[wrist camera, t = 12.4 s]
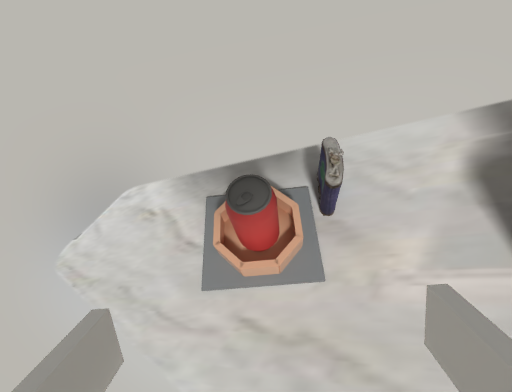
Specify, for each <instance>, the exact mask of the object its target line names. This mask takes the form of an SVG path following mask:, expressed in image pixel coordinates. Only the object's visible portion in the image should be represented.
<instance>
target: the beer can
mask: <svg viewBox="0 0 512 392" xmlns="http://www.w3.org/2000/svg"><path fill="white" fill-rule="evenodd" d="M225 208H226V211H227V215H228V217H229V219H230V221H231V223H232V226H233V228H234V230H235V232H236V234H237V237H238V239H239V241H240V242H241V244H242V245H243V246H244V247H246V248H247V249H248V250H252V251H264V250H267V249H269V248H270V247H272V246H273V245H274V244H275V243H276V241H277V240H278V237H279V234H280V231H279V218H278V207H277V197H276V195H275V193H274V190H273V189H272V188H271V187H270V184H269V183H268V182H267V181H266V180H265V179H264V178H262V177H260V176H257V175H244V176H241V177H239V178H237V179H235V180H234V181H233V182H232V183H231V184H230V185H229V187H228V189H227V191H226V202H225Z"/></svg>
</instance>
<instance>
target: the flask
mask: <svg viewBox="0 0 512 392" xmlns="http://www.w3.org/2000/svg"><path fill="white" fill-rule="evenodd" d="M343 153H344V152H343V151H342V149H341V150H340V147H339V144H338V142H337V140H336V139H335V138H332V137H328V138H325V139H323V141H322V147H321V155H320V162H319V168H318V173H317V176H318V178H317V180H318V181H319V186H318V190H319V191H318V192H319V194H320V212H321V213H322V214H323V215H324V216H325V215H326V216H330V215H332V214H333V213H334V210H335V205H336V201H337V197H338V194H339V190H340V187H341V184H342V180H343V170H344V169H343V167H344V166H343V158H342V155H343Z"/></svg>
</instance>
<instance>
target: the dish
mask: <svg viewBox="0 0 512 392" xmlns="http://www.w3.org/2000/svg"><path fill="white" fill-rule="evenodd" d="M270 187H271V188H272V189H273V190H274V193H275V195H276V197H277V207H278V218H279V231H280V234H279V237H278V240H277V241H276V243H275V244H274V245H273V246H272V247H270V248H269V249H267V250H264V251H252V250H248V249H247V248H246V247H244V246H243V245H242V244H241V242H240V241H239V239H238V237H237V234H236V232H235V230H234V228H233V226H232V223H231V221H230V219H229V217H228V215H227V211H226V208H225V202H226V201H225V202H224V203H223V204H222V205H221V206H220V207H219V208H218V209H217V210H216V211H215V213H214V233H213V245H214V247H215V249H216V250H217V252H218V253H219V254H220V255H221V256H222V257H223V258H224V259H225V260H226V261H227V262H228V263H229V264H231V265H232V266H233V267H234V268H235V269H236V270H237V271H238V272H239V273H240V274H241V275H243V276H244V277H246V276H258V275H270V274H279V272H280V273H281V272H282V271H283V270H284V268H285V267H286V266H287V265H288V264H289V262H290V261H291V260H292V259H293V257H294V256H295V255H296V254H297V253H298V251H299V250H300V249H301V248H302V244H303V231H302V224H301V218H300V212H299V205H298V204H297V203H296V202H294V201H293V200H291V199H290V198H288V197H287V196H286V195H284V194H283V193H281V192H280V191H278V190H277V189H275V188H274V187H272V186H270Z"/></svg>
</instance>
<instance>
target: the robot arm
mask: <svg viewBox="0 0 512 392" xmlns="http://www.w3.org/2000/svg"><path fill="white" fill-rule="evenodd" d="M424 344H425V345H426V347H427V348H428V349H429V351H430V352H431V353H432V355H433V356H434V358H435V359H436V360H437V362H438V363H439V364H440V366H441V367H442V369H443V370H444V371H445V373H446V374H447V375H448V377H449V378H450V380H451V381H452V382H453V384H454V385H455V386H456V388H457V389H458V390H459V392H512V339H511V338H510V337H509V336H507V335H506V334H505V333H504V332H503V331H502V330H500V329H499V328H498V327H497V326H496V325H495V324H493V323H492V322H491V321H490V320H489V319H488V318H486V317H485V316H484V315H483V314H482V313H481V312H479V311H478V310H477V309H476V308H475V307H474V306H472V305H471V304H470V303H469V302H468V301H467V300H466V299H464V298H463V297H462V296H461V295H460V294H459V293H457V292H456V291H455V290H454V289H453V288H452V287H450V286H449V285H448V284H438V285H427V296H426V318H425V340H424ZM123 362H124V359H123V357H122V353H121V349H120V346H119V342H118V339H117V335H116V332H115V328H114V325H113V321H112V318H111V314H110V311H109V309H95V310H91V311H90V312H89V313H88V314H87V315H86V316H85V317H84V318H83V320H82V321H80V323H79V324H78V325H77V326H76V327H75V328H74V329H73V330H72V331H71V332H70V333H69V334H68V335H67V336H66V337H65V338H64V339H63V340H62V341H61V342H60V343H59V344H58V345H57V346H56V347H55V348H54V349H53V350H52V351H51V352H50V353H49V354H48V355H47V356H46V357H45V358H44V359H43V360H42V361H41V362H40V363H39V364H38V365H37V366H36V367H35V368H34V370H32V371H31V372H30V373H29V374H28V375H27V377H26V378H25V379H24V380H23V381H22V382H21V383H20V384H19V385H18V386H17V387H16V388H15V389H14V390H13V391H12V392H105V390H106V389H107V387H108V385H109V384H110V382H111V381H112V379H113V377H114V376H115V374H116V373H117V371H118V370H119V368H120V366H121V365H122V363H123Z"/></svg>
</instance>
